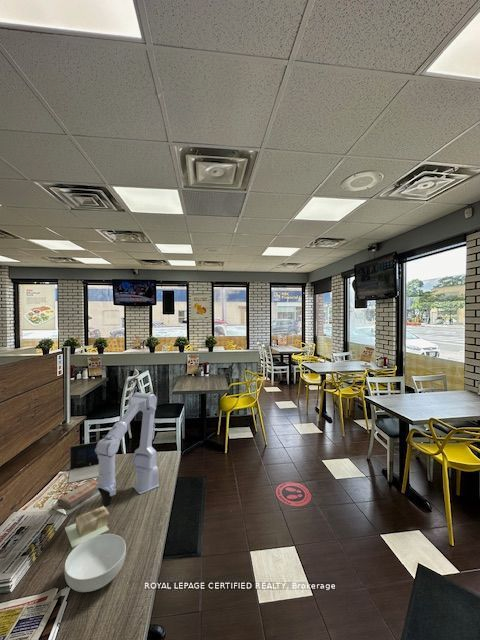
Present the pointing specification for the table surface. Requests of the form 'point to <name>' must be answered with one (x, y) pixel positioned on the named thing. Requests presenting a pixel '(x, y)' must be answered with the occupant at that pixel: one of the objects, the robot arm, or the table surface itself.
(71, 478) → the laptop
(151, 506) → the table surface
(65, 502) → the packaged product
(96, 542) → the cereal bowl
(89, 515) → the birch block
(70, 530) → the mat
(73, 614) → the table surface
